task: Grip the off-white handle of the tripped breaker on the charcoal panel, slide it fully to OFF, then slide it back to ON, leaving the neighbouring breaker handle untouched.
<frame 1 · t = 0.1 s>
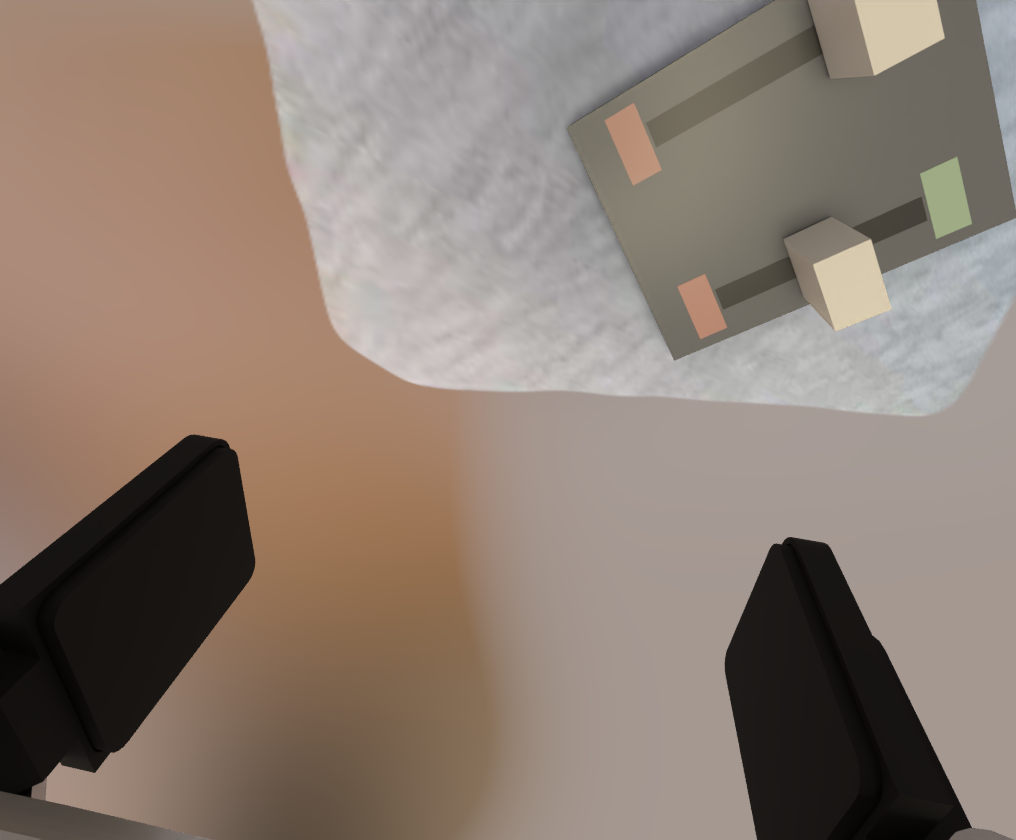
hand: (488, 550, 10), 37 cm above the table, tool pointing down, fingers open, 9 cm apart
breaker panel: (775, 166, 39), on the table
tripped breaker: (833, 271, 35), point 7 cm above the table, slide at 5.0 cm
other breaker: (869, 16, 29), point 7 cm above the table, slide at 10.0 cm
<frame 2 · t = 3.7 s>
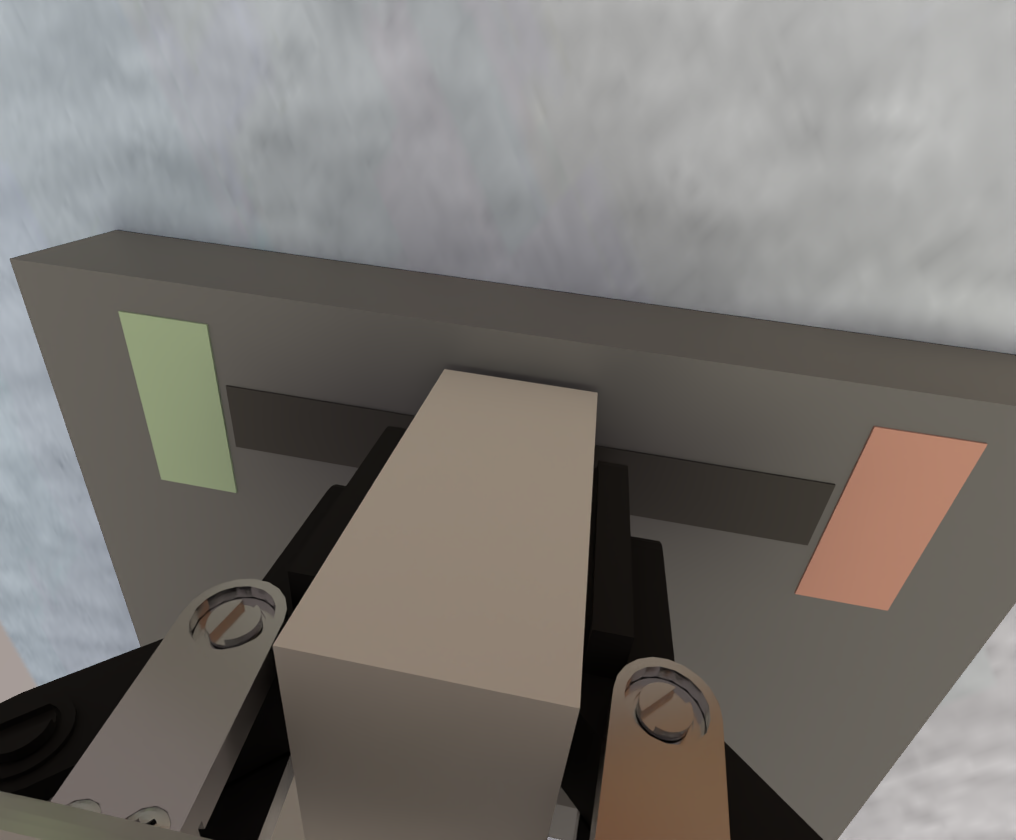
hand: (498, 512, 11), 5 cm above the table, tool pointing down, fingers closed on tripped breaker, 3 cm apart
breaker panel: (508, 568, 18), on the table
tripped breaker: (477, 587, 9), point 7 cm above the table, slide at 5.0 cm, touching gripper
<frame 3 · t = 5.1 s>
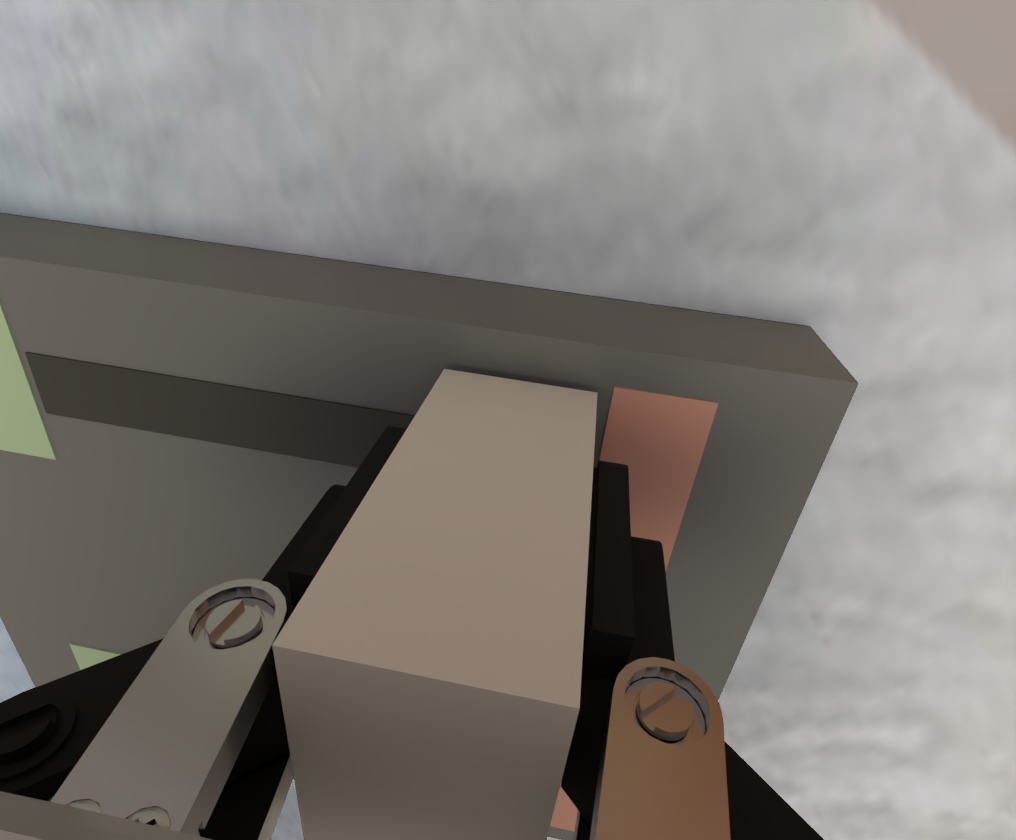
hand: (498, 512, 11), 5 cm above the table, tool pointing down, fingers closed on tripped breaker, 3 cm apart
breaker panel: (359, 540, 19), on the table
tripped breaker: (477, 587, 9), point 7 cm above the table, slide at 0.1 cm, touching gripper
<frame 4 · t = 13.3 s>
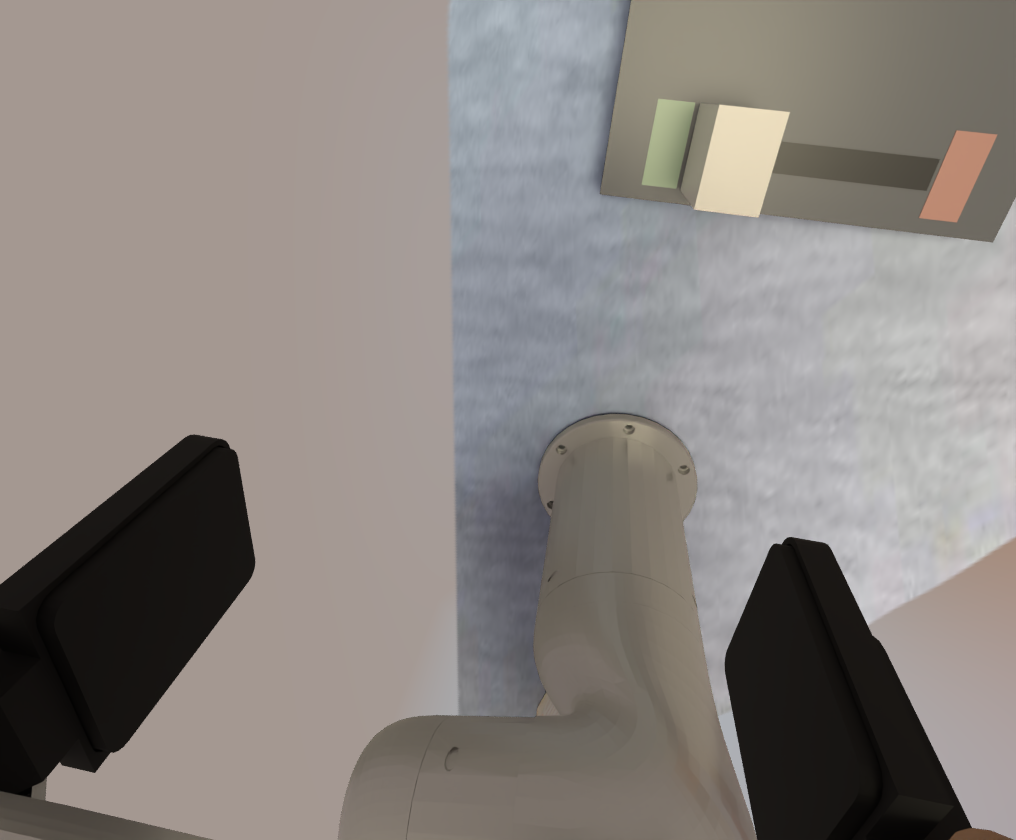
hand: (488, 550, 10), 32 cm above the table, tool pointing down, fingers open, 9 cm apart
coffeecake box: (590, 676, 60), on the table
breaker panel: (831, 35, 31), on the table
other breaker: (727, 156, 29), point 7 cm above the table, slide at 10.0 cm
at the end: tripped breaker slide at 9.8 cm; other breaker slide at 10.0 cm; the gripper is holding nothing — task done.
